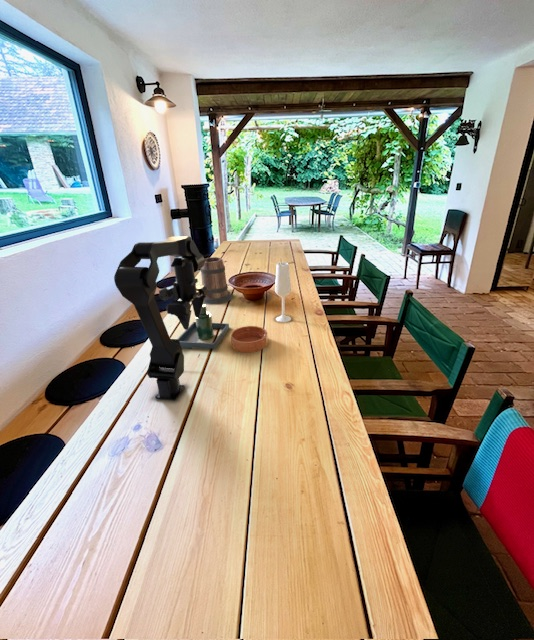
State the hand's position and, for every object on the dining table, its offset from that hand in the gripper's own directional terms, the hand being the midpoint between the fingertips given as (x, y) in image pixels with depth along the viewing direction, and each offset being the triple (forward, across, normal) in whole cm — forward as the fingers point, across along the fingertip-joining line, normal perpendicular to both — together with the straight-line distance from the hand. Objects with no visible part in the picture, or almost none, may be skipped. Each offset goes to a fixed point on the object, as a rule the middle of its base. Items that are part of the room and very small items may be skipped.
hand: (192, 323), depth 106 cm
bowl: (+13, -11, +16) cm, 23 cm away
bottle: (+12, -14, -2) cm, 19 cm away
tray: (+13, -14, -3) cm, 19 cm away
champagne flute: (+13, -35, +25) cm, 45 cm away
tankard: (+13, -60, -14) cm, 63 cm away
